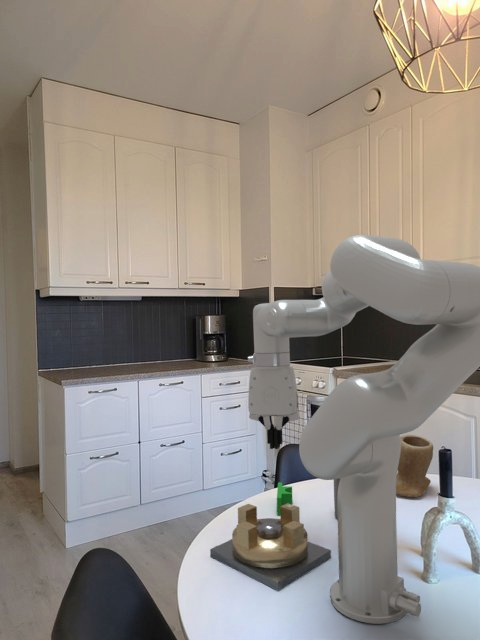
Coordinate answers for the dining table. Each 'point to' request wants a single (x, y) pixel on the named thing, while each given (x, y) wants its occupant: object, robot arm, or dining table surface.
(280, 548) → the ring nut
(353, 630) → the dining table surface
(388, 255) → the robot arm
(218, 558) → the mounting plate
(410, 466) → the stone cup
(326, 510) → the dining table surface
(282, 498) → the pipe clamp
